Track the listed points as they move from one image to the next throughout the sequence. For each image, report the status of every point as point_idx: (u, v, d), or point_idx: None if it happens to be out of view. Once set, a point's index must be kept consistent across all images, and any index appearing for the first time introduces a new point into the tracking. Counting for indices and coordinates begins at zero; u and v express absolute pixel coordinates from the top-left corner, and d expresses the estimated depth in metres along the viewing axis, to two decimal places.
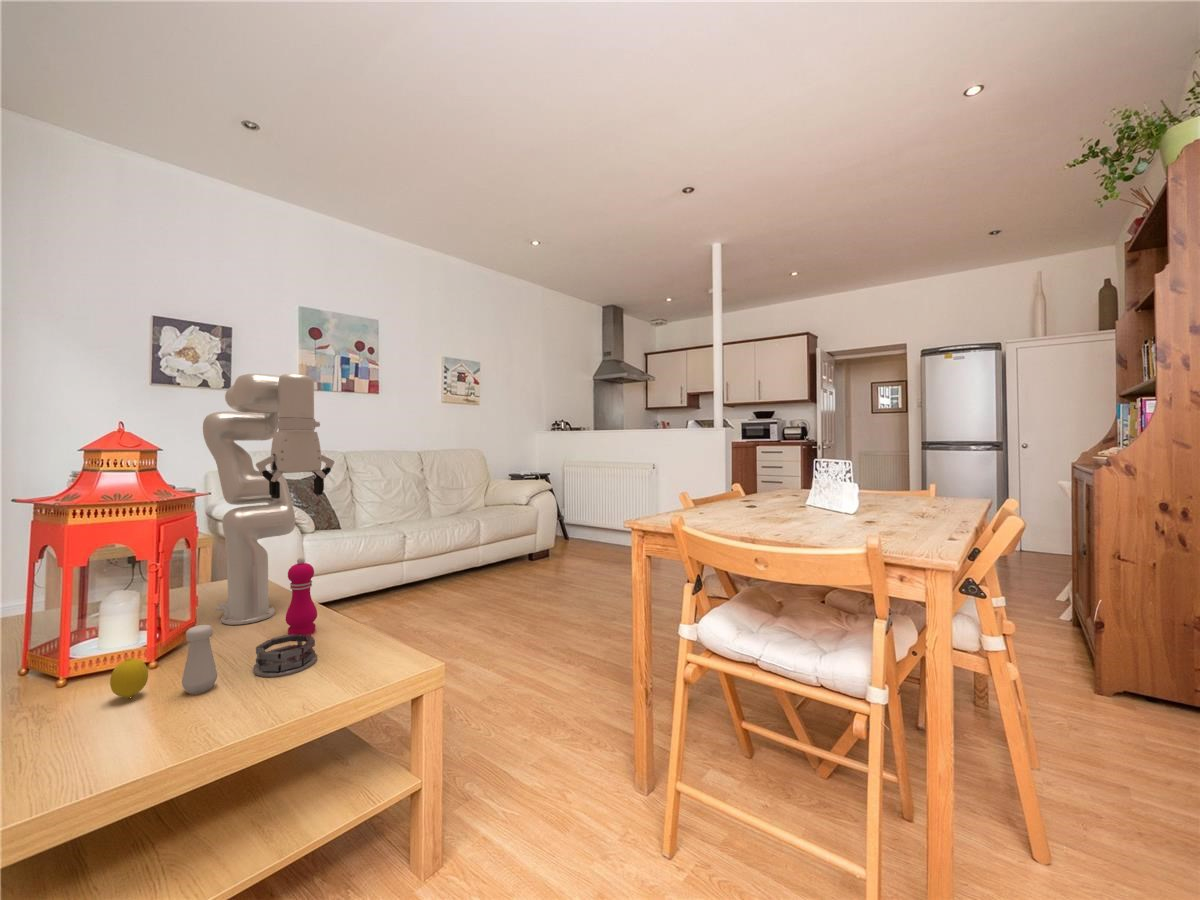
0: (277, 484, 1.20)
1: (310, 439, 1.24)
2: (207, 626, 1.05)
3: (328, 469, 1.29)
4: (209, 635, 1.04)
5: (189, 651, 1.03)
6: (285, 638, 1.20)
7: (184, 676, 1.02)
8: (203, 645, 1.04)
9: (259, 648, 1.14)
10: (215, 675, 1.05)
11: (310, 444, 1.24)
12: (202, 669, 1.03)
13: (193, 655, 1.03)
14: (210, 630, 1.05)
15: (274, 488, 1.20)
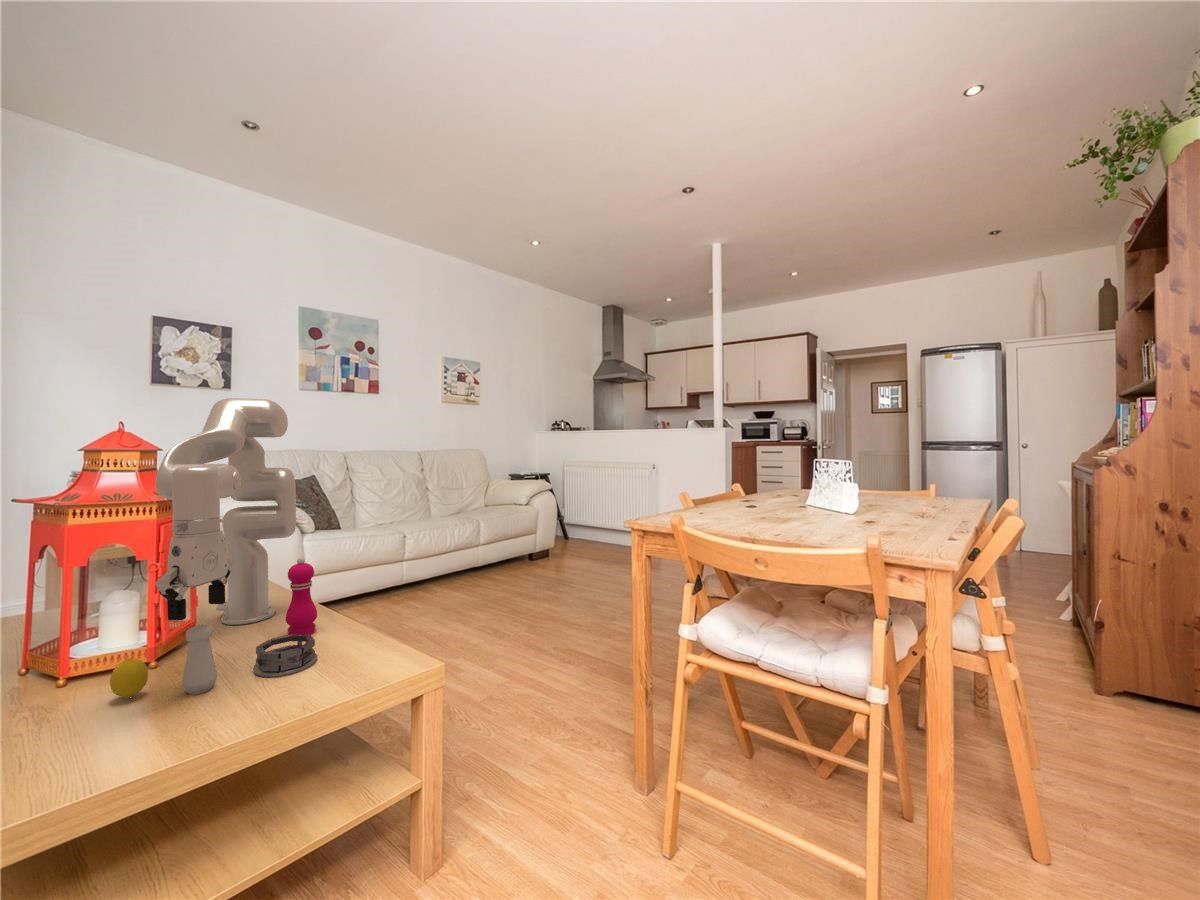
0: None
1: None
2: (207, 626, 1.05)
3: None
4: (209, 635, 1.04)
5: (189, 651, 1.03)
6: (285, 638, 1.20)
7: (184, 676, 1.02)
8: (203, 645, 1.04)
9: (259, 648, 1.14)
10: (215, 675, 1.05)
11: None
12: (202, 669, 1.03)
13: (193, 655, 1.03)
14: (210, 630, 1.05)
15: None
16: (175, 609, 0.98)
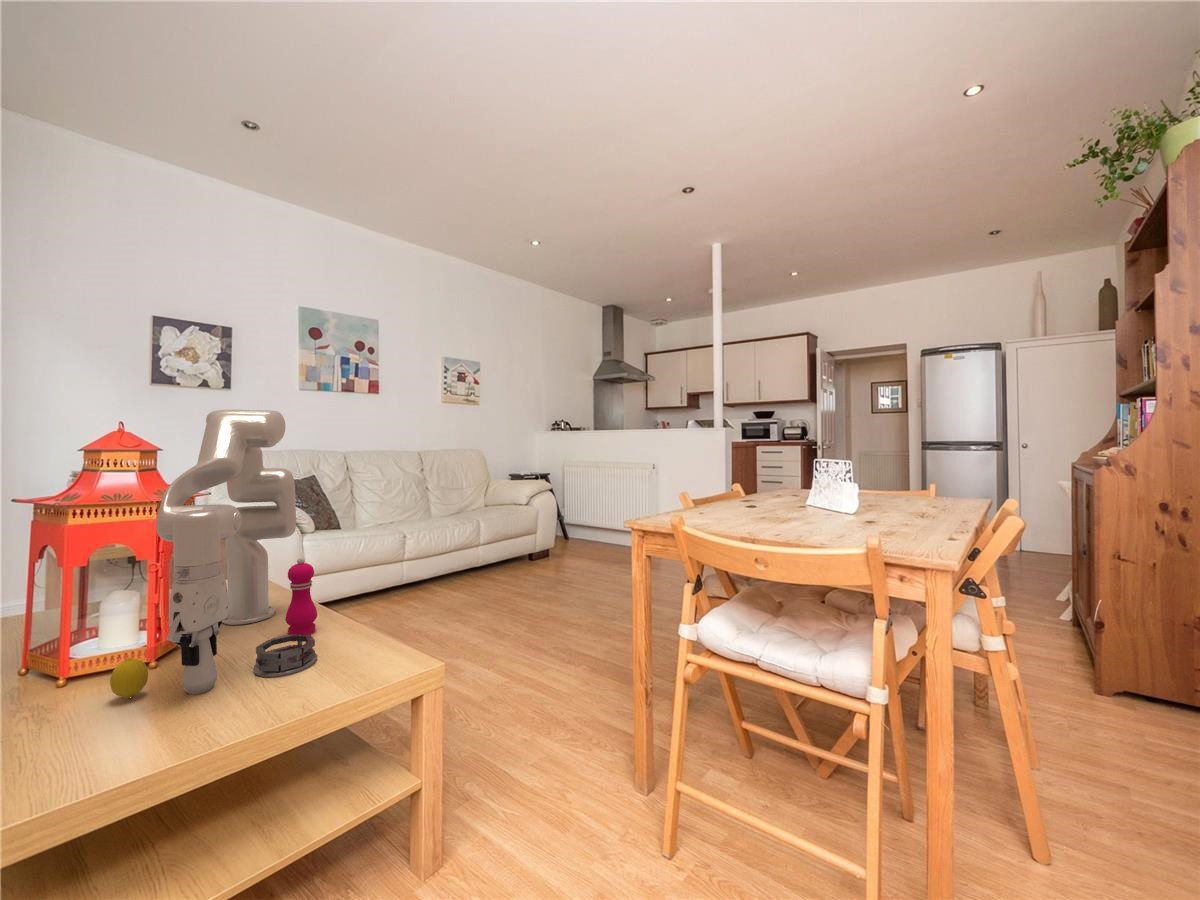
0: None
1: None
2: None
3: None
4: (209, 635, 1.04)
5: None
6: (285, 638, 1.20)
7: (184, 676, 1.02)
8: (203, 645, 1.04)
9: (259, 648, 1.14)
10: (215, 675, 1.05)
11: None
12: (202, 669, 1.03)
13: None
14: (210, 630, 1.05)
15: None
16: (189, 656, 1.01)
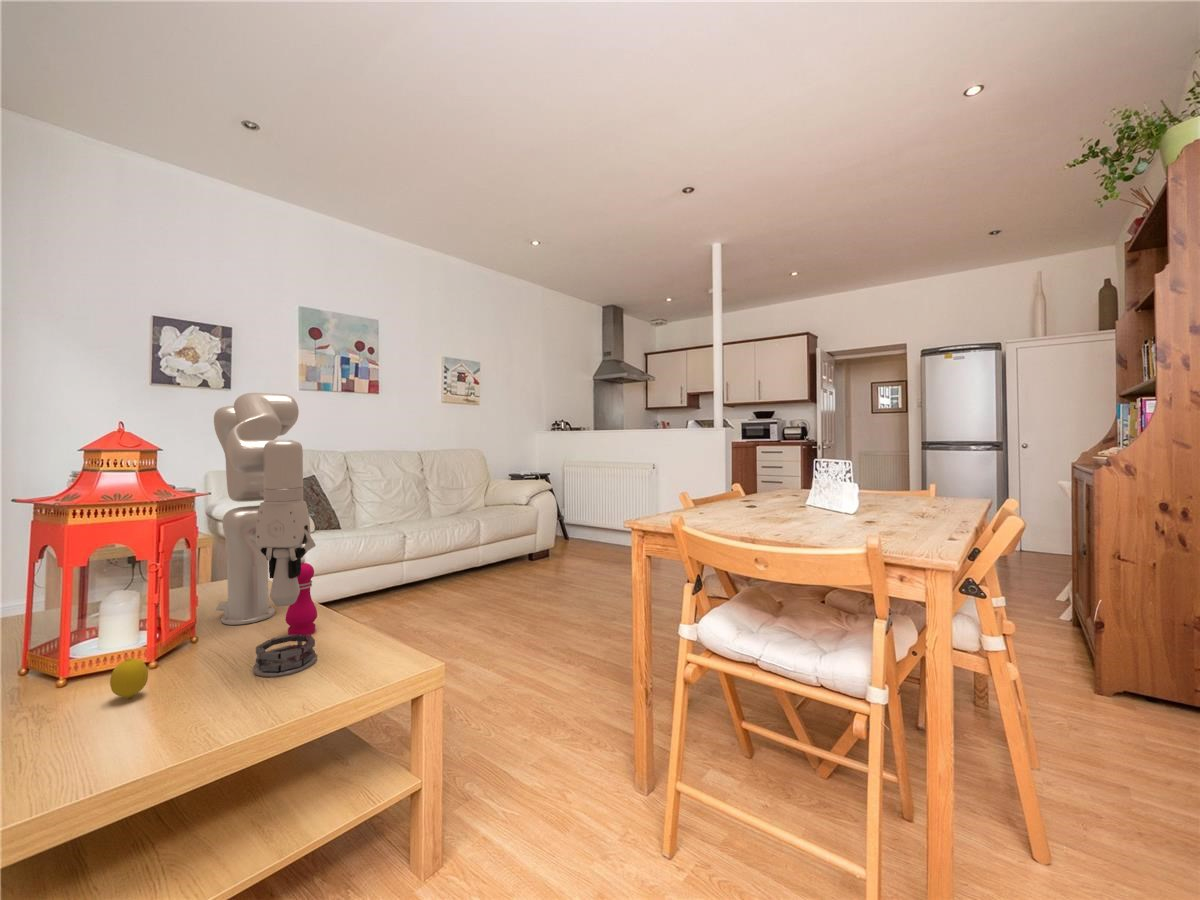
0: None
1: None
2: (283, 548, 1.14)
3: None
4: (278, 556, 1.13)
5: None
6: (285, 638, 1.20)
7: None
8: (276, 563, 1.14)
9: (259, 648, 1.14)
10: (280, 595, 1.13)
11: None
12: (272, 584, 1.14)
13: None
14: (280, 552, 1.13)
15: None
16: None
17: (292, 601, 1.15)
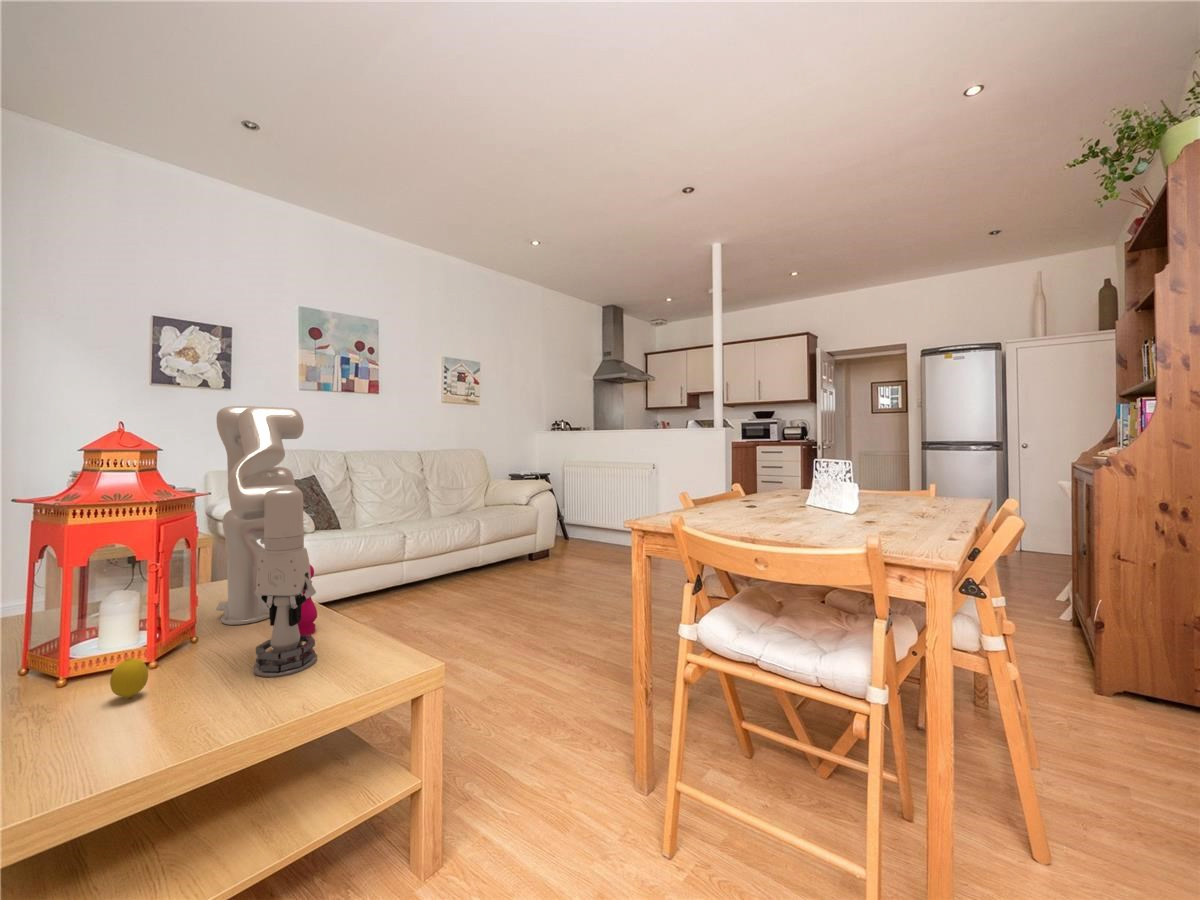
0: None
1: None
2: (283, 596, 1.14)
3: None
4: (279, 604, 1.14)
5: None
6: None
7: None
8: (277, 610, 1.14)
9: (259, 648, 1.14)
10: (280, 643, 1.13)
11: None
12: (273, 631, 1.14)
13: None
14: (280, 600, 1.14)
15: None
16: None
17: (292, 648, 1.15)
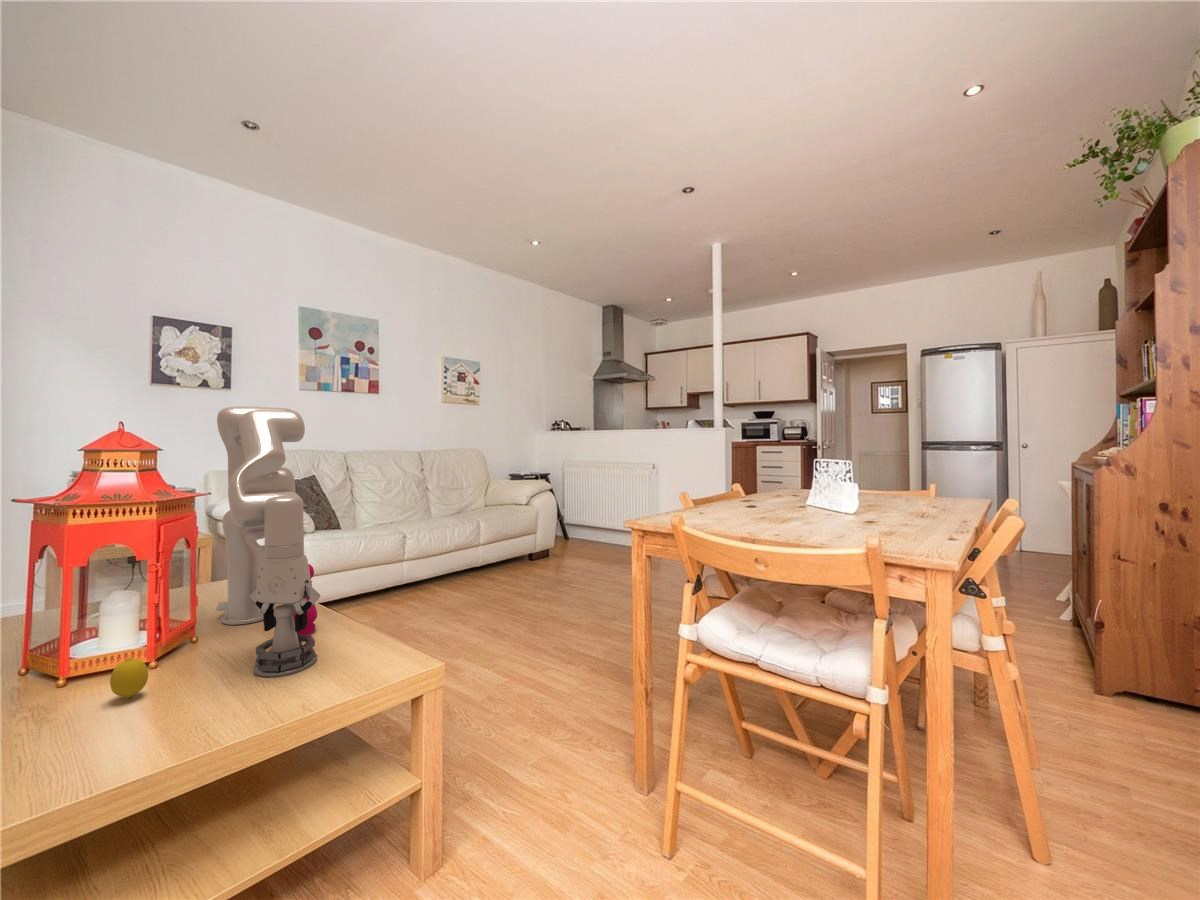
0: None
1: None
2: (283, 607, 1.15)
3: None
4: (278, 616, 1.14)
5: None
6: None
7: None
8: (277, 622, 1.15)
9: (259, 648, 1.14)
10: None
11: None
12: (273, 643, 1.14)
13: None
14: (280, 612, 1.14)
15: None
16: None
17: (292, 660, 1.15)
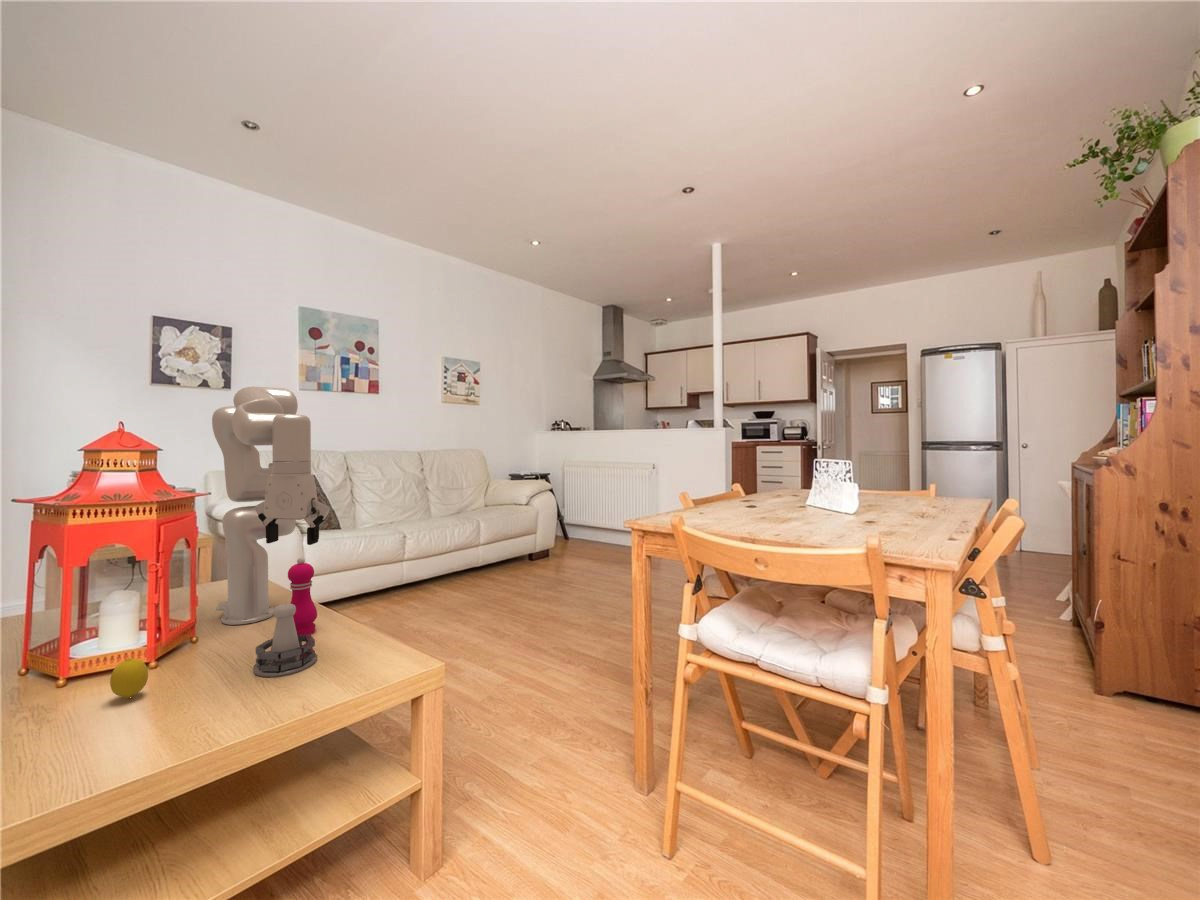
0: None
1: None
2: (283, 607, 1.15)
3: None
4: (278, 616, 1.14)
5: None
6: None
7: None
8: (277, 622, 1.15)
9: (259, 648, 1.14)
10: None
11: None
12: (273, 643, 1.14)
13: None
14: (280, 612, 1.14)
15: None
16: None
17: (292, 660, 1.15)
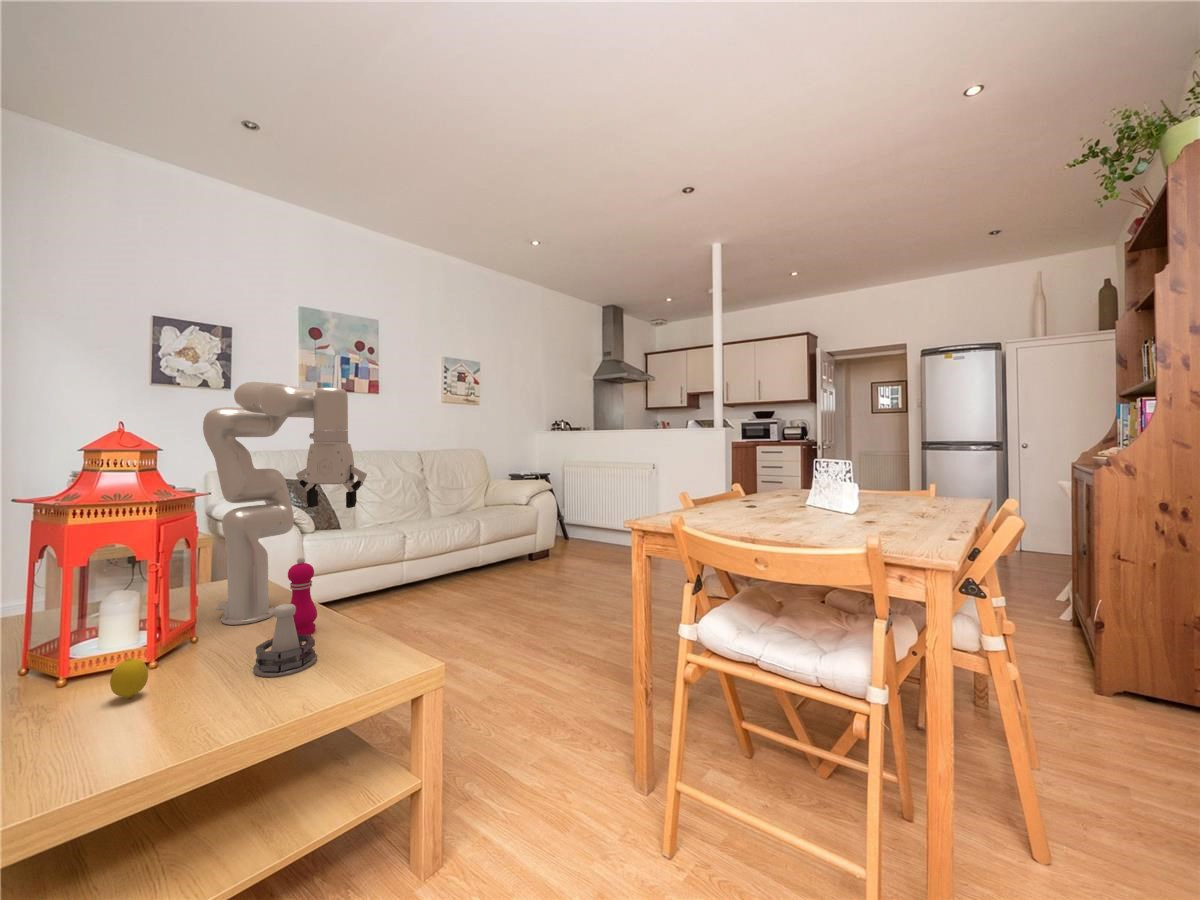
0: None
1: None
2: (283, 607, 1.15)
3: None
4: (278, 616, 1.14)
5: None
6: None
7: None
8: (277, 622, 1.15)
9: (259, 648, 1.14)
10: None
11: None
12: (273, 643, 1.14)
13: None
14: (280, 612, 1.14)
15: None
16: None
17: (292, 660, 1.15)
